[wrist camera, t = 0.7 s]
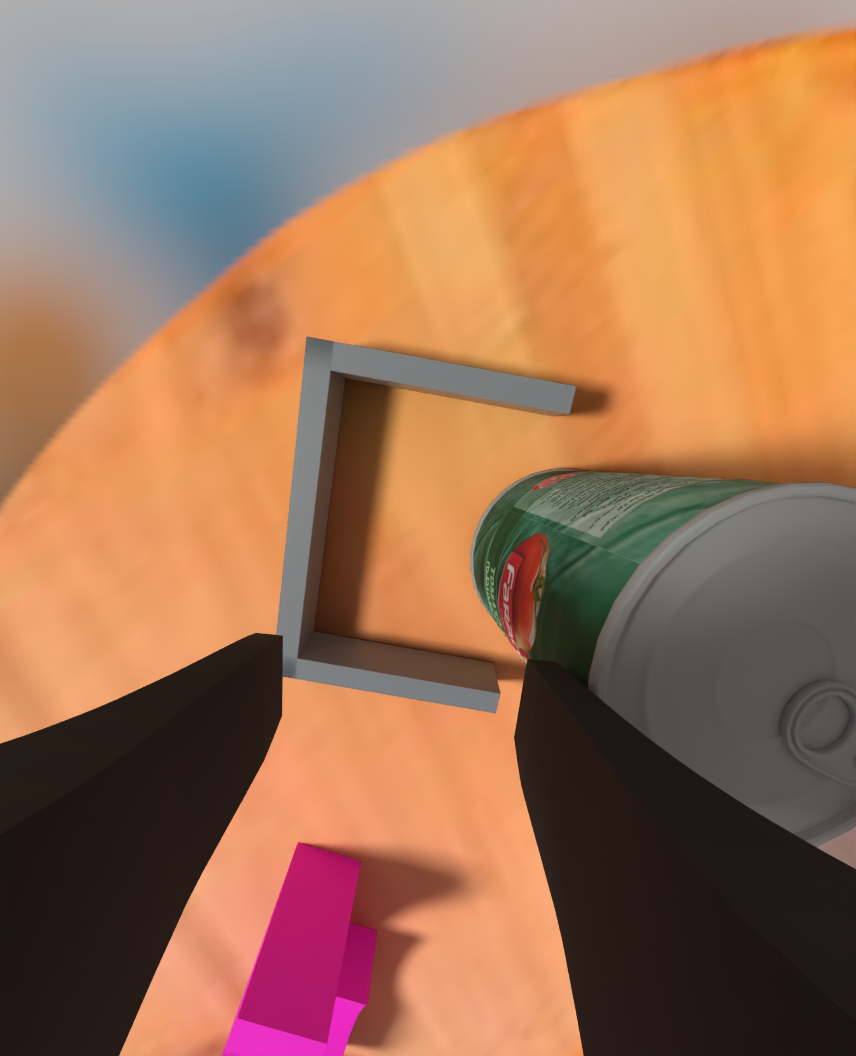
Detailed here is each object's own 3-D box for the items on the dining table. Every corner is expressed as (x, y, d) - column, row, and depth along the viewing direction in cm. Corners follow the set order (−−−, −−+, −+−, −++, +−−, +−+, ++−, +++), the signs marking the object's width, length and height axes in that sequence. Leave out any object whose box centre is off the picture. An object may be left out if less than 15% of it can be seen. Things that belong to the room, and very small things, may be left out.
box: (557, 392, 18) (576, 386, 15) (489, 680, 21) (495, 713, 19) (325, 349, 18) (306, 336, 15) (291, 646, 21) (272, 674, 18)
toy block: (329, 1037, 28) (289, 1255, 20) (237, 1011, 27) (163, 1223, 20) (402, 870, 24) (386, 1060, 17) (299, 838, 24) (237, 1018, 17)
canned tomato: (433, 569, 18) (506, 726, 8) (551, 430, 18) (809, 385, 7) (559, 671, 20) (772, 925, 9) (672, 545, 19) (1036, 651, 9)
